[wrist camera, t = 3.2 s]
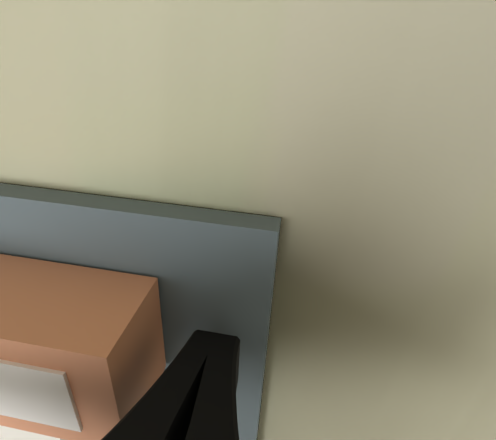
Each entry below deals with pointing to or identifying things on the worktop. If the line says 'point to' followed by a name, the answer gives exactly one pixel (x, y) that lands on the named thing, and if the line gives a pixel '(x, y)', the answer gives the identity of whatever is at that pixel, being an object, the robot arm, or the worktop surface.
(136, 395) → the stub
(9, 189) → the mat
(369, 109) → the worktop surface
